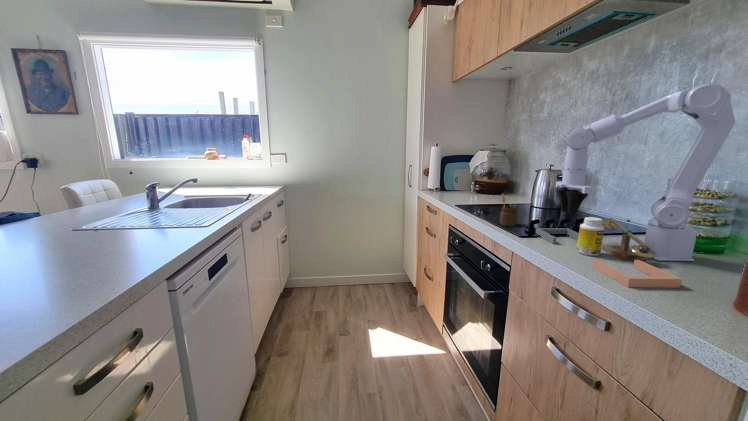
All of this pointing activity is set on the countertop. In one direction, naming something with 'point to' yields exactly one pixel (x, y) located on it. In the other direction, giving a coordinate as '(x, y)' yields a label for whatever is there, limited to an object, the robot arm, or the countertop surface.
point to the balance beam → (639, 249)
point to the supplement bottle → (590, 236)
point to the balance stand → (623, 250)
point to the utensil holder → (508, 214)
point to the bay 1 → (547, 231)
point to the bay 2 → (657, 279)
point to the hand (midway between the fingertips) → (568, 212)
